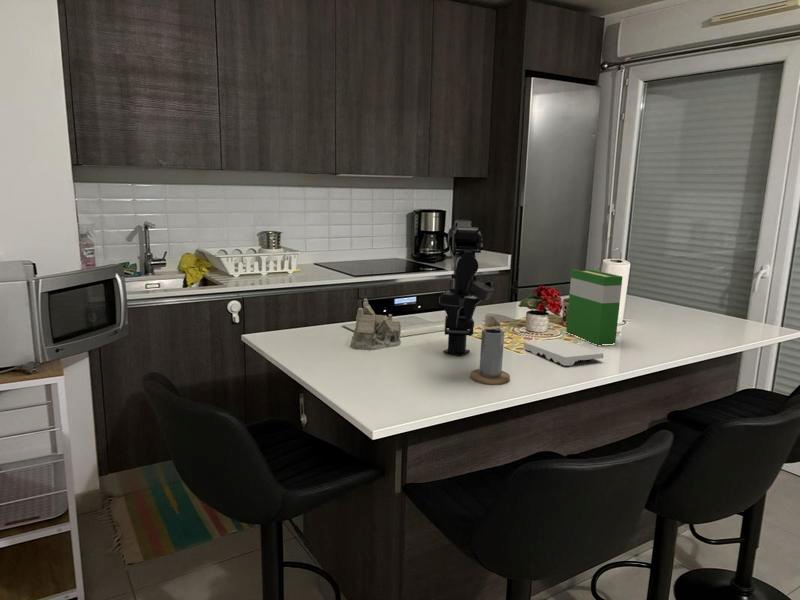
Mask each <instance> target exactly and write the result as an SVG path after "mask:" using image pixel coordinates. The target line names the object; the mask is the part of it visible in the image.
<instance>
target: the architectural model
mask: <svg viewBox="0 0 800 600" xmlns="http://www.w3.org/2000/svg"><path fill="white" fill-rule="evenodd" d="M484 318H485V319H484V326H482V328H483V329H498V330H501V329H503V328H504V327H503V326H501V321H499V320H498V314H490V315H485V317H484Z"/></svg>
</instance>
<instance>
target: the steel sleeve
mask: <svg viewBox="0 0 800 600" xmlns="http://www.w3.org/2000/svg"><path fill="white" fill-rule="evenodd" d="M504 340H505V331H504V330H502V329H500V330H498V329H485V328H483V330H481V340H480V342H481V343H480V356H479V357H480V358H479V369H480V370H479V374H480V375H481V376H482V377H487V378H499V377H500V376H501V372H502V371H503V370H502V369H503V356H504Z"/></svg>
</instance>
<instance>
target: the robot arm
mask: <svg viewBox="0 0 800 600" xmlns="http://www.w3.org/2000/svg"><path fill="white" fill-rule="evenodd" d="M483 241H484V240H483V235H482V232H481V231H479V227H476V226H473V227H472V220H469V219H456V220H455V221H454V224H453V226H452V227H450V228H449V230H448V234H447V247H449V254H450V256H451V258H452V259H453V273H452V274H451V279H453V283H452V284H453V286H452V287H453V288H451V289H450V292H449V291H446V292H443V293H442V294H440V295H439V297H438V304H439V305H441V306H442V308H443V310H444V312H445V318H444V328H443V329H444V335H445V336H446V335H448V339H447V348H446V349H444V350H443V351H442V352H443V353H446V354H450V355H454V356H460V357H462V356H464V355H466V354H468V353H470V352H471V351H470V349H467V336H470V337H472V335H473V336H474V327H475V321H474V319H473V316H474V314H475V310H476V308H477V305H478V304H479V303H480V302H482V301H483V302H487V301H488V300H490V299H491V297H492V295H493V294H495V288H494V287H495V285H494V281H491V280H487V281H485V282H483V281H482V282H481V281H480V280H479V277H478V274H477V272H478V270H479V262H478V260H477V258H476V257H477V255H476V254H481V252H482V251H483V247H484V244H483V243H484V242H483Z"/></svg>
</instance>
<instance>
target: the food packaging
mask: <svg viewBox="0 0 800 600" xmlns="http://www.w3.org/2000/svg"><path fill="white" fill-rule="evenodd" d="M523 349H525V350H526V351H529V352H531V354H533V355H535V356H537V355H538V354H540V356H543V355H544V356H545V358H546V360H551V359H552V360H553V362H554V363H556V364H558V363H559V364H560V365H561V366H562V365H563V366H565V367H566V366H573V365H574V364H575V363H579V362H580V360H581V362H583V361H586V360H590V361H592V360H596V359H603V358H604V353H603V352H599V351H597V350H594V349H591V348H588V347H586V346H582V345H579V344H576V343H573V342H570V341H566V340H564V339H561V338H557V339H556V338H555V339H547V340H546V339H545V340H534V341H532V340H531V341H524V342H523ZM578 361H579V362H578ZM586 362H587V361H586Z"/></svg>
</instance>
